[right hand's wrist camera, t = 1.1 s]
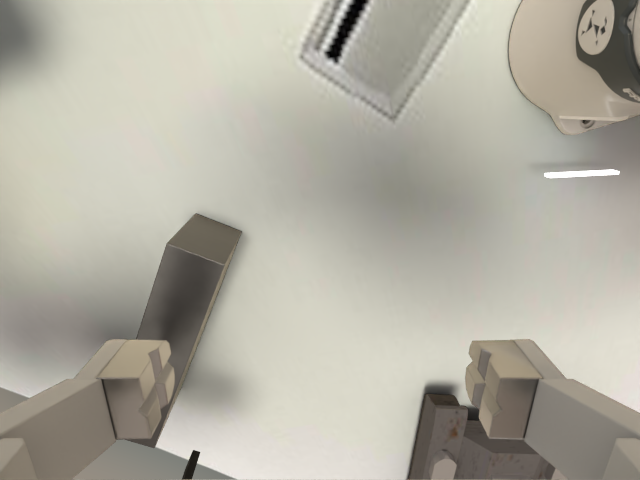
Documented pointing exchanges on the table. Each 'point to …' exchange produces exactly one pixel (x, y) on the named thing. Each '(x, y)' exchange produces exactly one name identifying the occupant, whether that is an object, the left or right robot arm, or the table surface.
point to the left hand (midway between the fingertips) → (128, 441)
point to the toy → (469, 448)
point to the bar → (186, 296)
